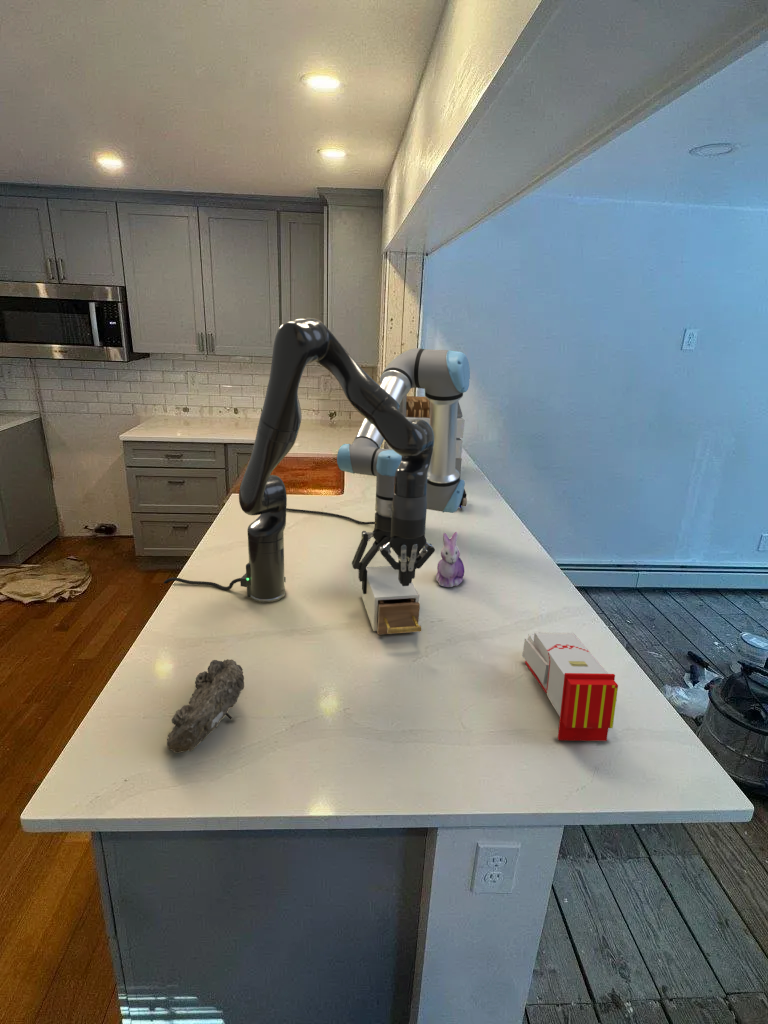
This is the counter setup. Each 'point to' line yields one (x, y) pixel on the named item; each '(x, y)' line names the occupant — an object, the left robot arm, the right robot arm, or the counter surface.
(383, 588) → the cabinet
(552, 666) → the toy
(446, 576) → the figurine
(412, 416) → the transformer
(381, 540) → the right robot arm
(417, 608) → the drawer
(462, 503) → the figurine character
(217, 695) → the fossil
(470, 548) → the counter surface
